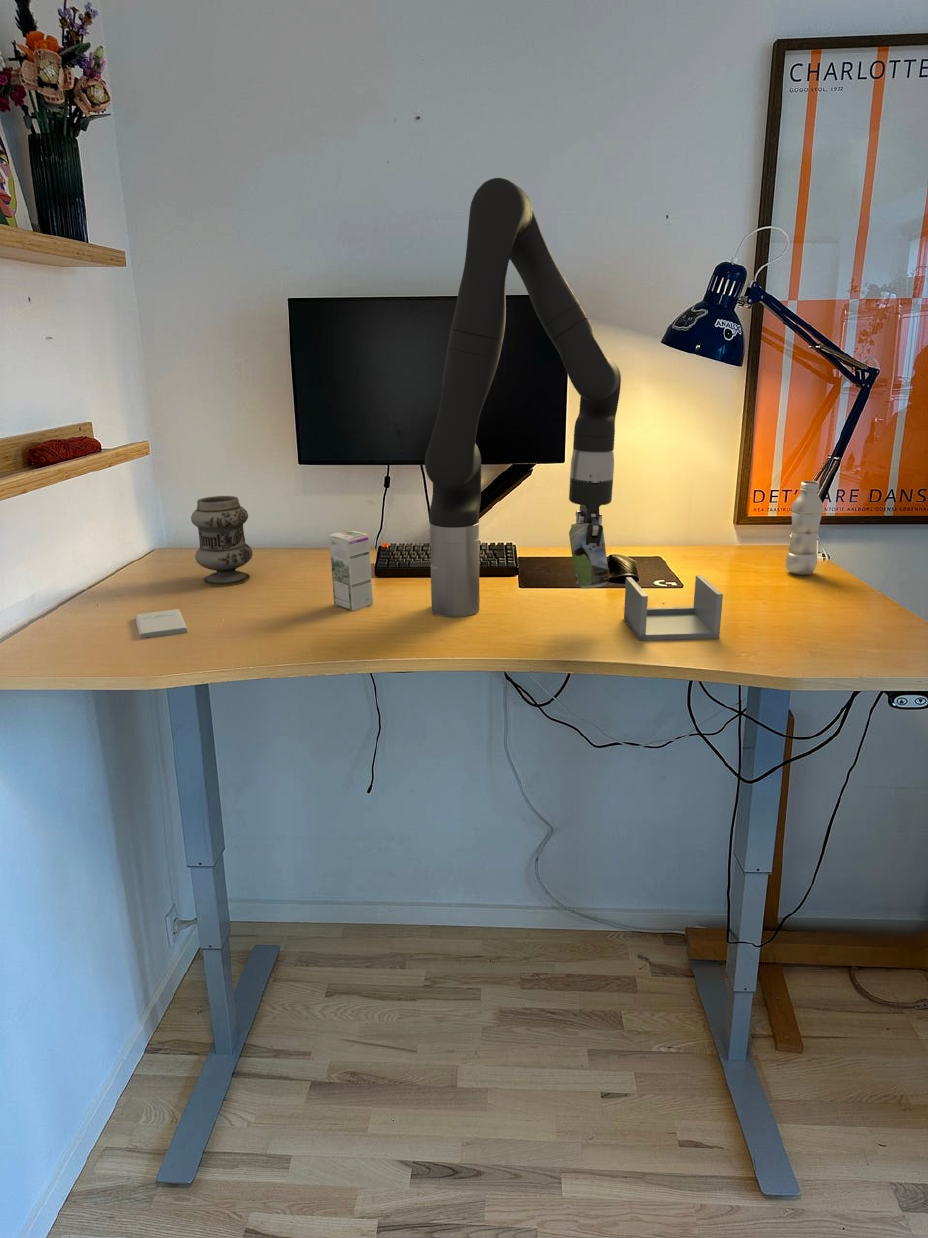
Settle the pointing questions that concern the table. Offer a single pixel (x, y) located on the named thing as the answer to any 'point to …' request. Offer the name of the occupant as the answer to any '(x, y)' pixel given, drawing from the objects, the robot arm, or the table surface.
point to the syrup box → (351, 569)
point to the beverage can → (588, 558)
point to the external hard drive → (160, 623)
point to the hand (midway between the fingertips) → (585, 570)
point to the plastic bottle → (805, 530)
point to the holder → (674, 614)
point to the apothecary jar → (222, 539)
